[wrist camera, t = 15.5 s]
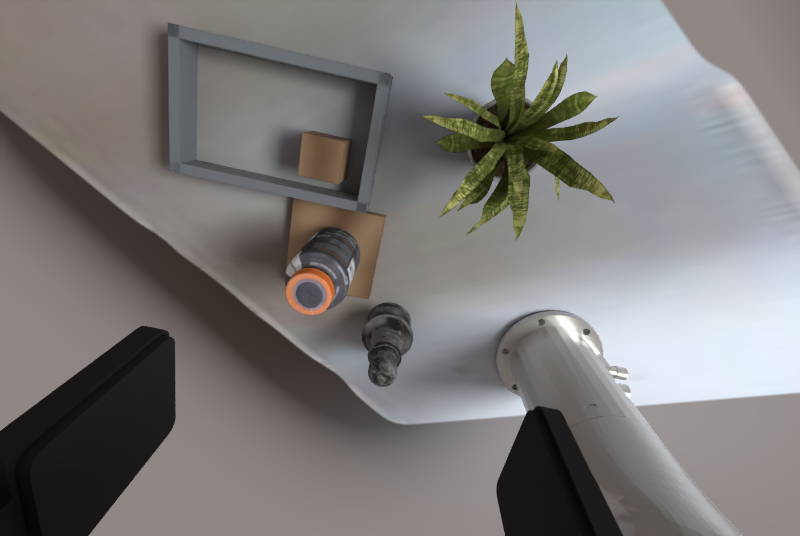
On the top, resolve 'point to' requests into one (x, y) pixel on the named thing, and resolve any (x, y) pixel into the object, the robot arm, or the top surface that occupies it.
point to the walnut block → (324, 157)
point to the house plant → (518, 138)
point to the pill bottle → (322, 271)
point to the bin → (185, 61)
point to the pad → (358, 224)
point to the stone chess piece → (386, 341)
